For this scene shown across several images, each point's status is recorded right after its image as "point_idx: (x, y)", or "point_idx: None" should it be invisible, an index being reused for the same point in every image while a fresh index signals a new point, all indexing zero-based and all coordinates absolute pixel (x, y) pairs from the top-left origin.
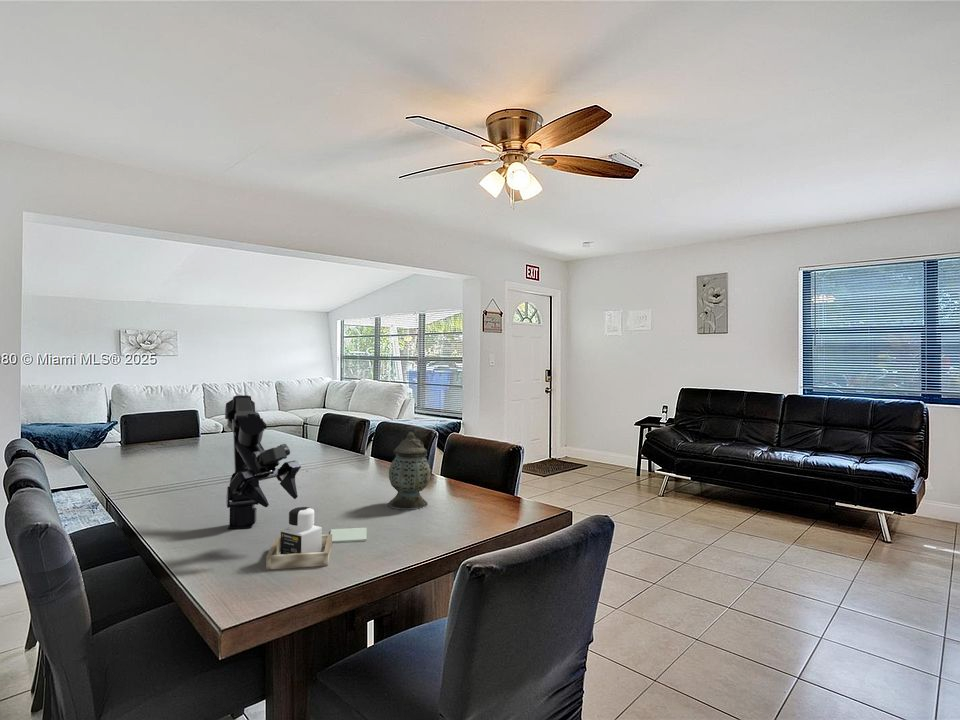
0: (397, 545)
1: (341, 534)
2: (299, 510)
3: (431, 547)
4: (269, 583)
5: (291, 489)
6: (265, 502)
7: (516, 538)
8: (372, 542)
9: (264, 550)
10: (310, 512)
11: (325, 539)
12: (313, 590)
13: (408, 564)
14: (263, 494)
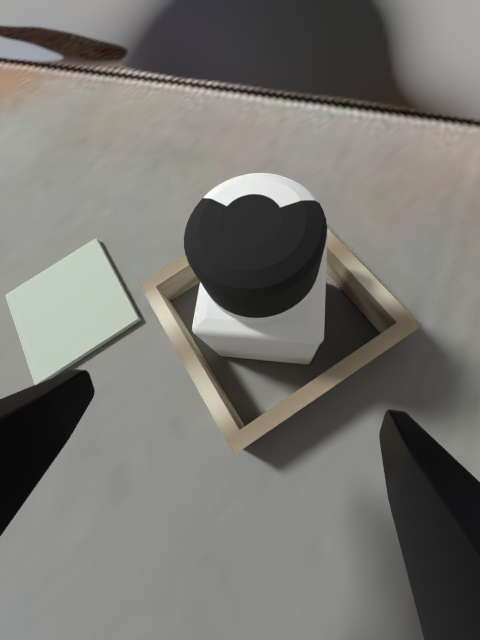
0: (109, 167)
1: (75, 321)
2: (283, 209)
3: (103, 111)
4: (468, 256)
5: (10, 447)
6: (425, 435)
7: (24, 37)
8: (105, 223)
9: (276, 477)
10: (256, 173)
11: (164, 297)
12: (425, 148)
13: (205, 94)
14: (466, 513)
